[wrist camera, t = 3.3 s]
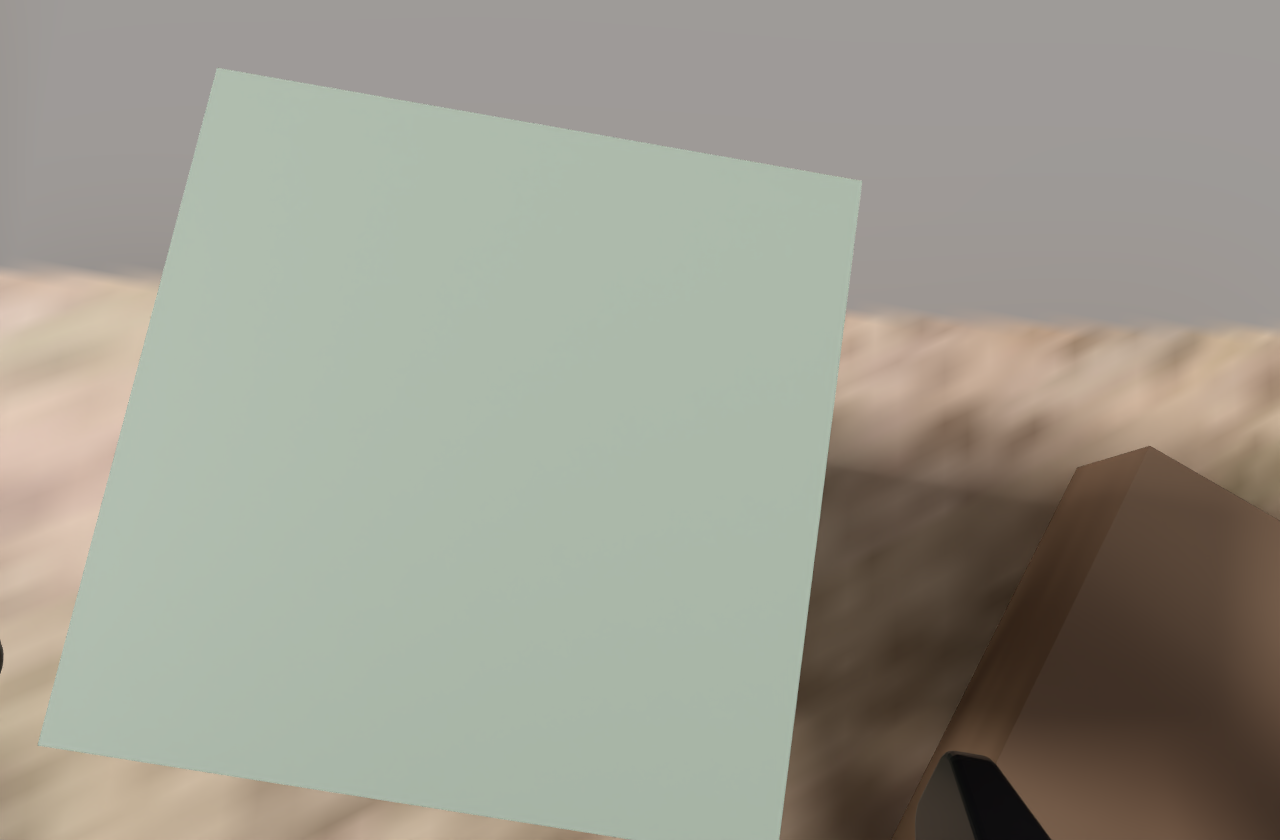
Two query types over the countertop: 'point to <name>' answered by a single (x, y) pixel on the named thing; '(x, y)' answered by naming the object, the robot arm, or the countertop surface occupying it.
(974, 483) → the countertop surface
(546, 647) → the sage pillar block
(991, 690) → the walnut base block
